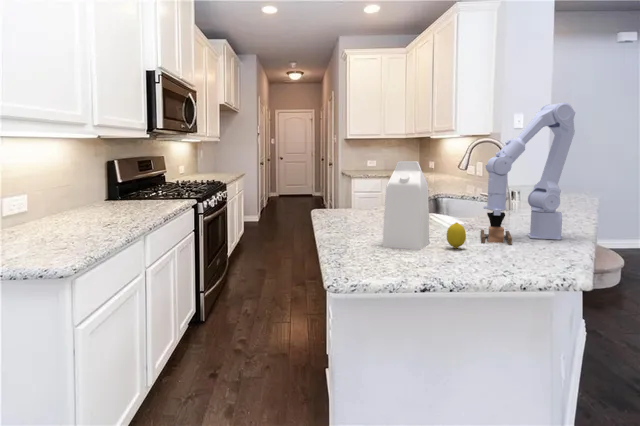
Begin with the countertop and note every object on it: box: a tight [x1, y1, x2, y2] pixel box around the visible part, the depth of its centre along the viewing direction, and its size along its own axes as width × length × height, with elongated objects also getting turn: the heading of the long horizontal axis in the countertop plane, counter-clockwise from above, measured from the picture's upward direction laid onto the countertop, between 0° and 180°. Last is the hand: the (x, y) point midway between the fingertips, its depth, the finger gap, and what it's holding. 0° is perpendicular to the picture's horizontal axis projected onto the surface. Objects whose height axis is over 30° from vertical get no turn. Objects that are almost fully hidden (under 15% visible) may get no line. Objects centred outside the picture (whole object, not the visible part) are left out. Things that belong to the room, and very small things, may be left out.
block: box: [487, 225, 505, 244], centre depth 156 cm, size 4×4×4 cm
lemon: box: [446, 222, 467, 250], centre depth 144 cm, size 6×6×8 cm
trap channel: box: [480, 229, 513, 246], centre depth 159 cm, size 9×16×2 cm, turn 163°
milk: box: [381, 160, 430, 251], centre depth 149 cm, size 12×12×26 cm
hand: (495, 234), depth 161 cm, fingers closed
